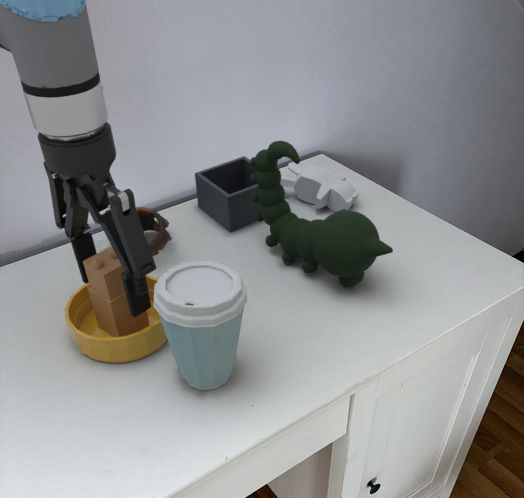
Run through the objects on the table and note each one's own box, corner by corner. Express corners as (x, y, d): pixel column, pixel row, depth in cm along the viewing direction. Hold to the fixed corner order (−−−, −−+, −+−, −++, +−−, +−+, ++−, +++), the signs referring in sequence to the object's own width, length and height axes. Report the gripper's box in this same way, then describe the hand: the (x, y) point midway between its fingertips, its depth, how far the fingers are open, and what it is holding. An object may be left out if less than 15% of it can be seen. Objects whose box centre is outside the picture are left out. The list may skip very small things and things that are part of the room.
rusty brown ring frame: (183, 236, 96) (179, 212, 88) (160, 284, 93) (154, 263, 85) (118, 210, 96) (108, 184, 88) (93, 257, 94) (81, 234, 86)
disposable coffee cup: (180, 340, 77) (165, 247, 66) (258, 348, 75) (255, 255, 65) (157, 399, 69) (136, 305, 59) (243, 409, 68) (237, 315, 57)
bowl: (52, 332, 78) (43, 307, 75) (133, 284, 86) (128, 260, 83) (114, 381, 72) (106, 356, 68) (196, 325, 79) (193, 300, 76)
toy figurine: (245, 258, 93) (368, 316, 79) (231, 144, 81) (375, 188, 66) (284, 235, 98) (407, 286, 83) (277, 124, 85) (420, 161, 71)
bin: (198, 207, 102) (194, 173, 97) (245, 189, 106) (244, 155, 101) (230, 232, 95) (228, 197, 91) (279, 212, 100) (279, 178, 95)
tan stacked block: (96, 325, 78) (75, 253, 70) (125, 307, 81) (108, 236, 73) (120, 343, 76) (101, 270, 67) (149, 324, 78) (134, 252, 70)
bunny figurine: (342, 201, 94) (268, 169, 99) (337, 227, 98) (265, 194, 103) (368, 178, 100) (296, 148, 105) (361, 203, 104) (293, 173, 108)
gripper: (171, 144, 55) (194, 316, 71) (45, 90, 66) (89, 249, 82) (108, 172, 51) (148, 348, 67) (-14, 109, 62) (44, 273, 78)
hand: (116, 294), depth 74 cm, fingers open, 10 cm apart
